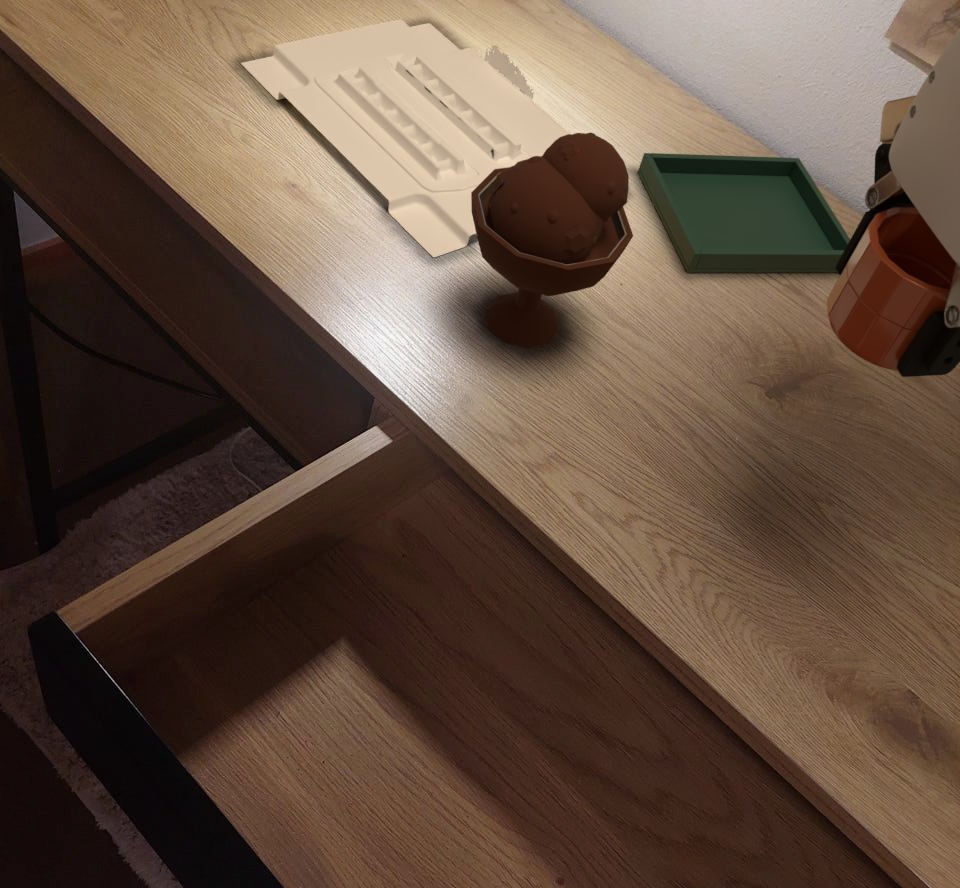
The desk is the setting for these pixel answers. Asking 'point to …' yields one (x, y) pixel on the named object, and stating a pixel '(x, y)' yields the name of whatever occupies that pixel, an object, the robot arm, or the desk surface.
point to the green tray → (743, 213)
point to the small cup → (890, 287)
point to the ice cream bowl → (550, 230)
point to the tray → (413, 117)
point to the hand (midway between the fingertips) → (890, 319)
